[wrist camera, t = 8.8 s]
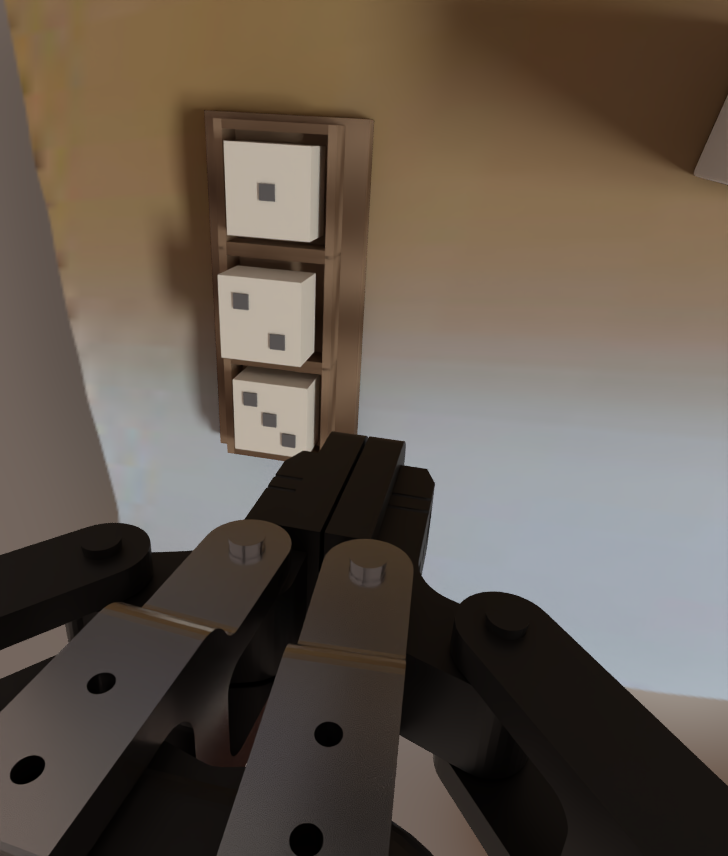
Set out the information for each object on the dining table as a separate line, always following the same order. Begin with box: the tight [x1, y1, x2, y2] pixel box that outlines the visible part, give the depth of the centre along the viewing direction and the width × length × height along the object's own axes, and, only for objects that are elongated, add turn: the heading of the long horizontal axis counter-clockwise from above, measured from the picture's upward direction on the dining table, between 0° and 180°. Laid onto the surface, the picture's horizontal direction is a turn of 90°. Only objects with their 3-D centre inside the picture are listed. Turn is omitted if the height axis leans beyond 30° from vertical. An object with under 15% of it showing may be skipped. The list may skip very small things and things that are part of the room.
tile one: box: [224, 141, 326, 242], centre depth 36 cm, size 5×5×3 cm
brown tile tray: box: [204, 110, 374, 461], centre depth 41 cm, size 22×10×3 cm, turn 177°
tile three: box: [233, 366, 320, 457], centre depth 42 cm, size 5×5×3 cm
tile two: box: [218, 265, 316, 367], centre depth 38 cm, size 5×5×3 cm
